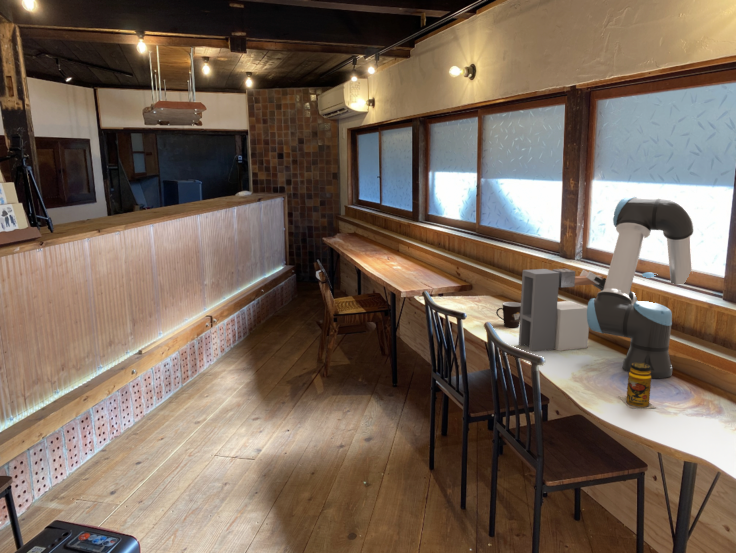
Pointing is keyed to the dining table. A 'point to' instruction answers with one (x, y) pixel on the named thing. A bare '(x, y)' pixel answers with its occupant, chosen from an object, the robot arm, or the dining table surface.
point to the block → (571, 326)
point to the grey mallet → (572, 278)
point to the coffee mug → (511, 314)
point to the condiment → (638, 386)
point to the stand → (538, 309)
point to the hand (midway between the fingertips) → (585, 273)
